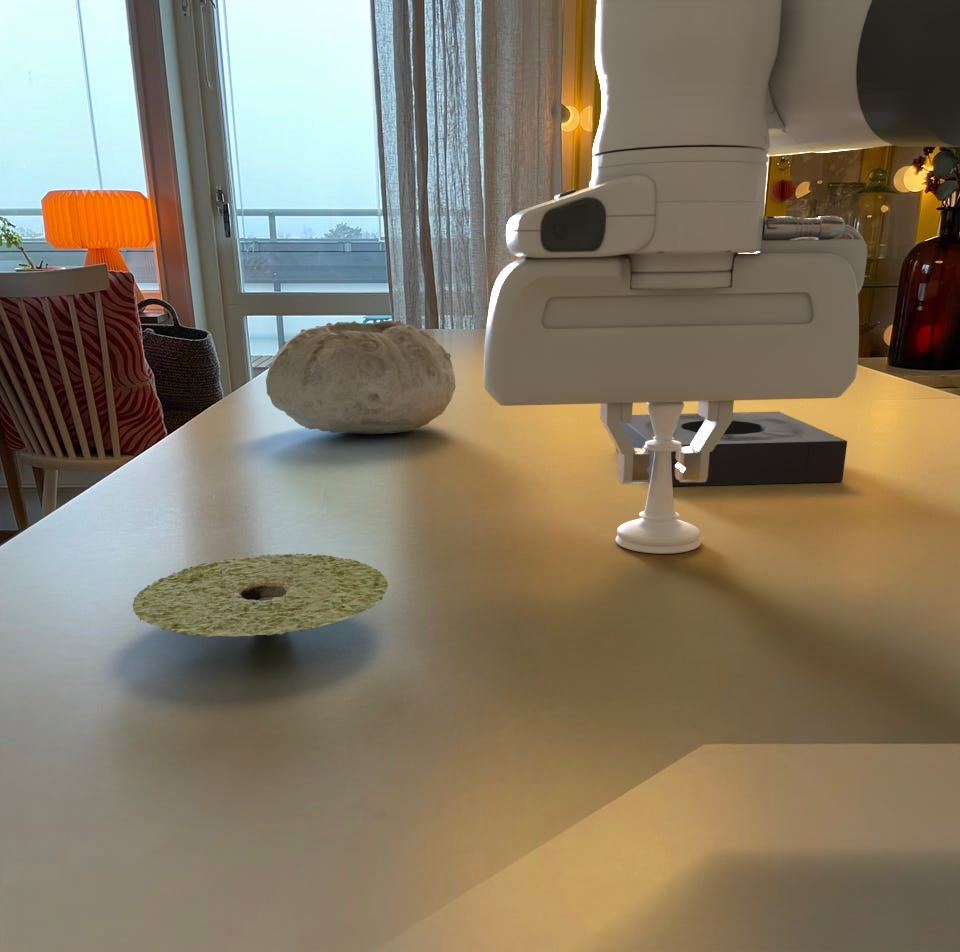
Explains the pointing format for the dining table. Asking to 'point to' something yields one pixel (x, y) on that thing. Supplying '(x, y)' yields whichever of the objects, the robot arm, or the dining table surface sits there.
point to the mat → (260, 595)
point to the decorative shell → (361, 378)
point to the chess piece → (660, 494)
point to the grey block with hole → (754, 449)
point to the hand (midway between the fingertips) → (661, 481)
